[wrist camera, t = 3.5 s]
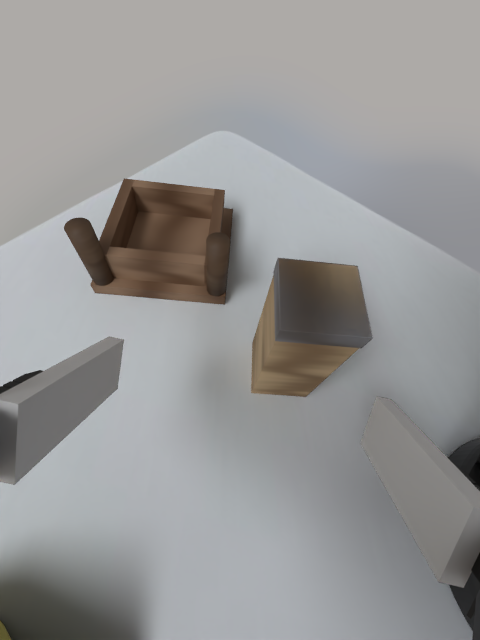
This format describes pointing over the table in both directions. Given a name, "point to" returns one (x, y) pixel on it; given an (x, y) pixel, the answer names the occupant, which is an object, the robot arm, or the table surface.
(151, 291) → the brown square open box
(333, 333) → the block
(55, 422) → the robot arm
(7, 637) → the plastic component
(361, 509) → the table surface
